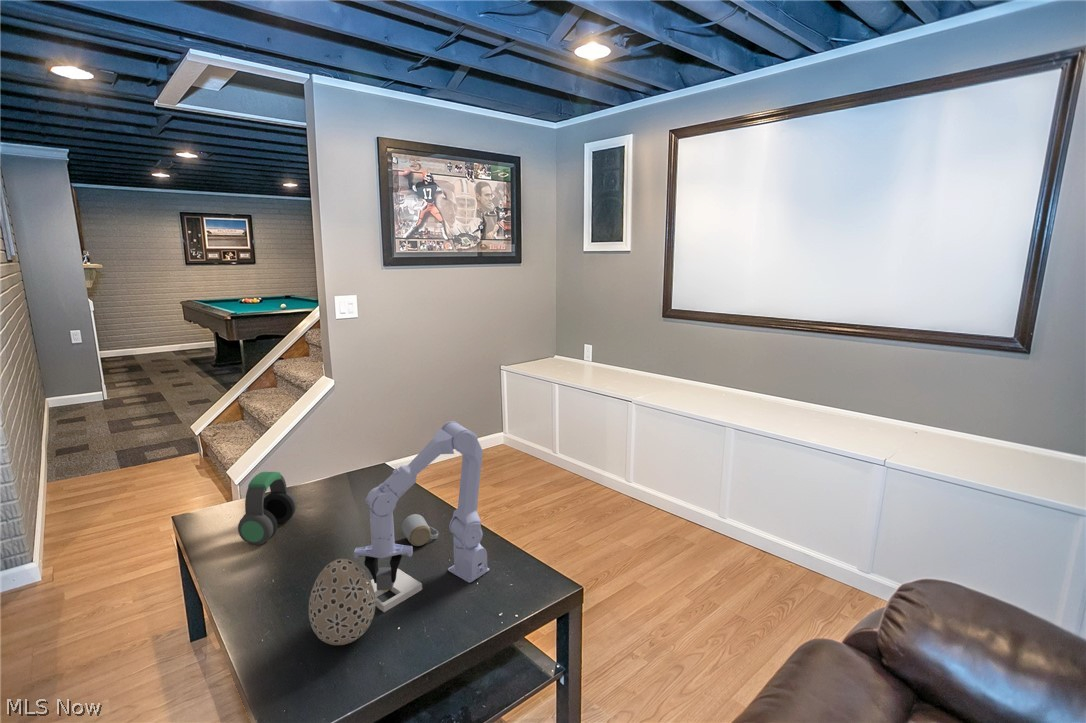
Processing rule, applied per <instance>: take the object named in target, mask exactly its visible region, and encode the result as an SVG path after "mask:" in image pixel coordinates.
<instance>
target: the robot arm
mask: <svg viewBox="0 0 1086 723" xmlns="http://www.w3.org/2000/svg"><path fill="white" fill-rule="evenodd" d="M478 437H479V436H478V435H476V434H475V433H474V431H472V430H470V429H467V428H466V427H464V426H462V425H461V424H460V423H458V422H457V421H455V420H451V421H447V422H445V423H444V424H443V425H442V427H441V428H439V429H438V430H436V431H435V434H434V435H433V437H432V439H431V440H430V441H429V442H428V443H427V445H425V446H424V447H423V448H422V450H421V451H419V453H418V454H417V455H415V457H414V458H413V459H412V460H411V462H409V463H408V464H407V465H401V466H399V467H398V468H397V467H395V469H393V470H392V474H390V476H388V477H387V478H386V479H385V480H384V482H382V483H380V484H378V486H376V487H373V488H372V489H371V490H369V492H368V493H367V496H366V497H365V503H366V505H367V506H368V507H369V527H370V542H371V544H370V545H366V546H361V547H355V549H354V551H353V558H354V559H359V558H365V559H364V562H363V564H364V566H365V567H366V568H367V570H368V571H369V573H370V574H371V576H372V579H374V583H376V575H377V572H378V570H379V559H385V558H389V557H391V558H390V560H389V565H390V566H389V567H391V572H392V583H394V582H395V580H396V574H397V568H398V569H399V565H400V563H401V560H402V557H403V556H407V557H412V556H413V553H414V551H413V550H414V549H413V546H414V545H404V544H398V543H396V540H395V527H394V526H395V524H394V523H395V522H394V515H393V514H394V512H393V511H395V508H396V506H397V503H398V501H399V500H400V498H401V497H402V496H403V495H404V494H405V493H406V492H408V490H409V489H410V488H411V487H412V486H414V484H415V483H416V482H417V477H418V475H419V474H420V473H421V472H422V471H423V470H425V468H427V467H428V465H430V464H431V463H432V462H433V461H435V460H436V459H437V458H438V457H439V456H441V455H454V454H455V452H454V450H455V451H456V452H458V453H460V454H461V455H462V458H461V459H462V461H461V468H460V469H461V470H460V471H461V472H460V481H459V489H458V490H459V491H458V492H459V493H458V504H457V508H456V509H454V510H453V514H452V518H451V520H450V522H449V524H448V529H449V531H450V532H451V534H453V540H452V541H453V542H452V543H453V565H452V566H450V567H447V571H448V572H450V573H452V574H453V575H455V576H457V577H458V578H460V579H462V580H463V581H465V582H467V583H469V584H470V583H472V582H474V581H475V580H476V579H477V580H478V578H480V577H481V576H483V575H485V574H486V573H488V572H489V571H490V568H489V567H488V551H487V550H486V548H484V547H483V545H481V541H482V539H483V535H484V534H483V530H482V527H481V526H482V525H481V524H482V520H481V517H480V516H479V512H478V503H479V494H480V493H479V492H480V484H481V474H482V473H481V472H482V461H483V455H484V454H483V448H482V446H481V444H480V441H479V440H478V439H479V438H478Z"/></svg>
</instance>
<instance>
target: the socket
mask: <svg viewBox="0 0 1086 723" xmlns="http://www.w3.org/2000/svg"><path fill="white" fill-rule="evenodd" d="M370 581H371V583H372V586H373V589H374V592H375V601H376V602H374V601H373V604H374V603H375V608H377V609H378V610H380V611H382V613H386V612H387V611H390V609H392V608H394V607H396V606H397V605H399V604H400V603H402V602H405V600H407V599H409V598H410V597H411V598H412V597H413V596H414V595H415V594H417V593H420V592H421V591H422V590H423V583H422V582H420V581H419V580H417V579H415V578H413V577H412V576H410V574H407V573H405V572H404V571H403V570H401V569H400V568H399V567H398V568H397V574H396V580H395V582H394V585H393V588H392V590H387V592H389V591H390V592H392V593H393V594H395V595H394V596H392V597H391V598H389V599H387V600H385V601H382V600H381V599H379V598H378V597H379V596H382V595H383V594H385V593H386V592H383V590H377V583H374V579H373V578H372V579H370ZM367 584H369V583H368V581H367ZM367 593H369V592H368V590H367ZM371 596H372V594H371Z"/></svg>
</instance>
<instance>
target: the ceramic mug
mask: <svg viewBox="0 0 1086 723" xmlns="http://www.w3.org/2000/svg"><path fill="white" fill-rule="evenodd" d="M401 531H402V533H403V535H404V536H405V538H406V539H407V540H408V542H409V543H410V544H411V546H414V547H421V546H424V545H425V544H426V543H428V542H429V540H436V539H437V538H438V537H439V531H438V530H437V529H436V528H434V527H432V526H429V525H428V522H427V521H426V519H425V518H424V516H422V515H421V514H420V513H419V514H418V513H414V514H410V515H408V516H407V517H406V518H405V519H404V520H403V522H402V524H401Z"/></svg>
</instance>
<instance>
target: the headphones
mask: <svg viewBox="0 0 1086 723" xmlns="http://www.w3.org/2000/svg"><path fill="white" fill-rule="evenodd" d="M268 488H269V489H270V490H269V491H270V493H269V494H267V495H266V492H267V490H268ZM244 499H245V501H244V505H245V506H244V509H245V510H244V512H245V513H244V515H243V516H242V517H241V519H240V520H239V522H238V524H237V531H238V534H239V537H240V538H241V539H242V540H243V542H245V543H248V544H250V545H256V546H257V545H261V544H264V543H265V542H267V541H269V540H271V538H273V537H274V536H275V534H276V532H277V531H278V525H279V524H284V523H286V522H288V521H290V520H291V519H292V517H293V516H294V514H295V513H296V510H297V508H298V506H297V505H298V504H297V503H298V502H297V500H296V499H295V497H294V495H293V494H291V493H290V492H289V491H288V487H287V483H286V480H285V477H284V476H283V475H282V473H281V472H280V471H261V472H259V473H257V474H256V475H255V476H254V477H253V478H252V479H251V480H250V482H249V483H248V485H247V490H246V494H245V498H244Z"/></svg>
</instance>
